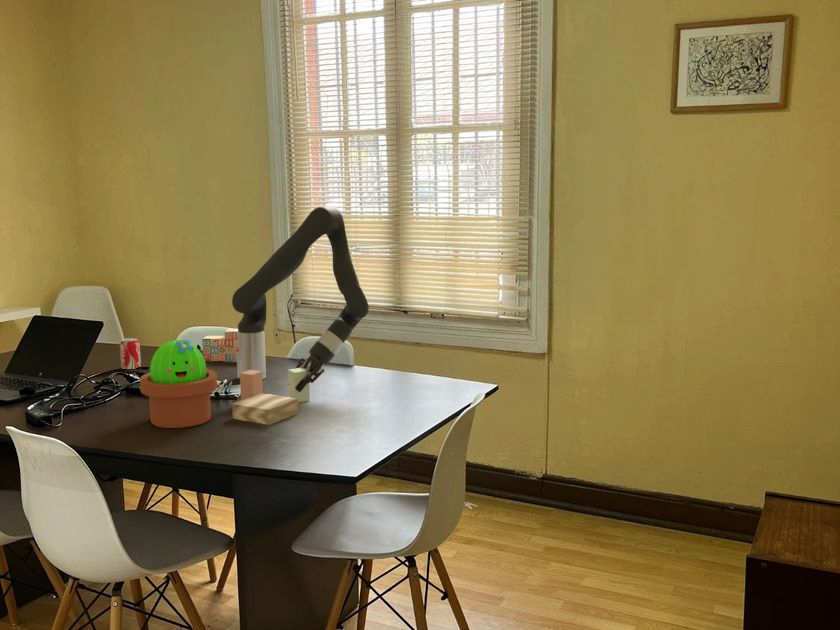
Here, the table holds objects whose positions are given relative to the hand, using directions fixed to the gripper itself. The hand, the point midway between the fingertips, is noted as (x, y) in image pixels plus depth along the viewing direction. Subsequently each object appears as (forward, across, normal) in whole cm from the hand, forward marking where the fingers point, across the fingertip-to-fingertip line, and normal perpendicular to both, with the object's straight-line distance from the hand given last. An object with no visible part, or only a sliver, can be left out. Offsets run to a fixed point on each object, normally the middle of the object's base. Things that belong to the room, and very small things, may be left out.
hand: (293, 388), depth 271 cm
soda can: (+26, -72, -20) cm, 80 cm away
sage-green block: (+2, 0, +4) cm, 5 cm away
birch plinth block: (+13, +10, -7) cm, 18 cm away
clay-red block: (+11, -6, -6) cm, 14 cm away
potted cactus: (+29, 0, -23) cm, 37 cm away
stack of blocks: (0, -68, +7) cm, 69 cm away
